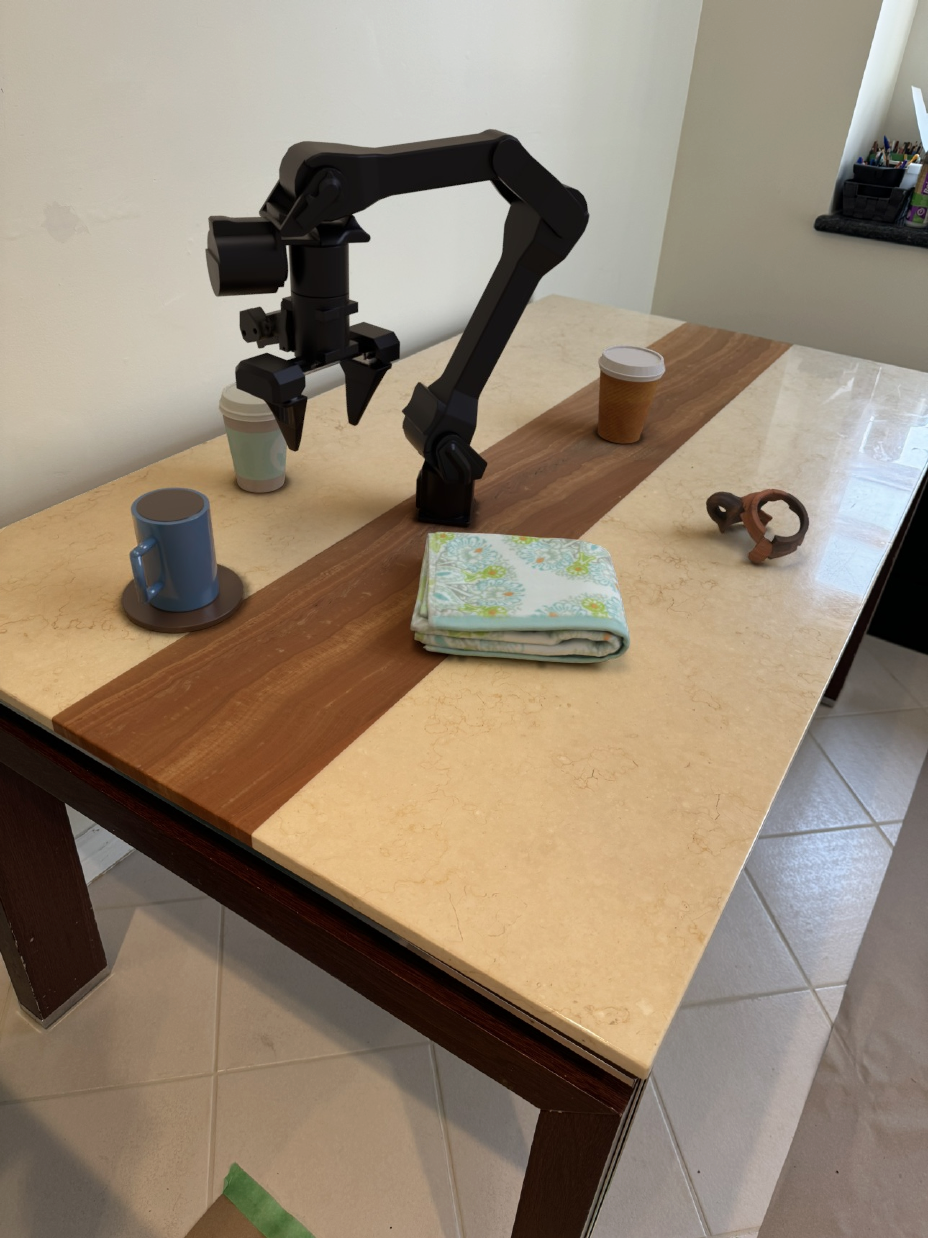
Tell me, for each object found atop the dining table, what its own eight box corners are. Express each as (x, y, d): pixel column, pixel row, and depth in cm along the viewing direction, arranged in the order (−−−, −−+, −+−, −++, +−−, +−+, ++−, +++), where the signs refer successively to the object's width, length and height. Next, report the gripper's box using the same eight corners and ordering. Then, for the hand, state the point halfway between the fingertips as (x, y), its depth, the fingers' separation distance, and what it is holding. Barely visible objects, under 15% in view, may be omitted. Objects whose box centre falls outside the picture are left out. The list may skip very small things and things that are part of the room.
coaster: (259, 573, 94) (258, 567, 94) (221, 640, 85) (220, 634, 84) (151, 559, 95) (150, 554, 94) (101, 624, 85) (100, 618, 85)
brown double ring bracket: (785, 530, 111) (821, 496, 103) (772, 592, 107) (809, 561, 99) (698, 494, 110) (728, 458, 103) (682, 555, 106) (712, 521, 99)
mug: (172, 565, 93) (158, 480, 87) (232, 580, 91) (223, 495, 85) (112, 618, 85) (93, 529, 79) (178, 636, 83) (163, 546, 77)
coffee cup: (280, 502, 107) (275, 410, 100) (215, 492, 108) (204, 399, 101) (305, 472, 113) (301, 383, 106) (242, 462, 114) (234, 373, 107)
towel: (421, 556, 99) (423, 517, 96) (607, 570, 99) (615, 531, 96) (408, 656, 84) (410, 614, 81) (626, 672, 85) (636, 631, 82)
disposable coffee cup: (579, 439, 127) (591, 359, 120) (596, 416, 135) (609, 339, 128) (642, 454, 125) (659, 372, 118) (656, 429, 132) (673, 351, 125)
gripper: (326, 256, 95) (330, 393, 105) (189, 288, 83) (206, 440, 92) (405, 279, 90) (401, 420, 100) (271, 317, 78) (281, 474, 87)
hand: (324, 436), depth 95 cm, fingers open, 9 cm apart
